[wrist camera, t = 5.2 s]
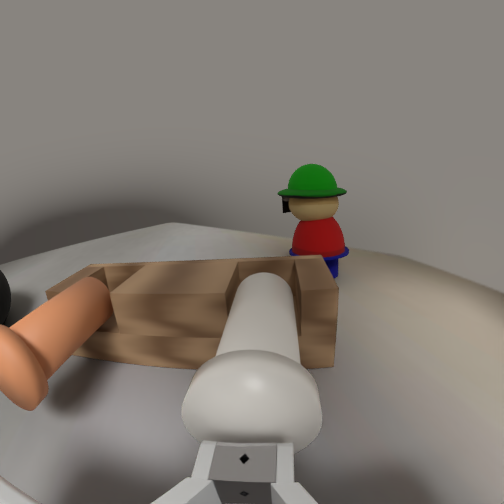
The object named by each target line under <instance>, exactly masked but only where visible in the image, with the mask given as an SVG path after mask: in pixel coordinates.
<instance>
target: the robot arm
mask: <svg viewBox="0 0 504 504" xmlns="http://www.w3.org/2000/svg"><path fill="white" fill-rule="evenodd" d="M222 503H237V504H318V503H317V502H316V501H315V500H314V498H313V497H312V496H311V495H310V494H309V493H308V492H307V491H306V490H305V489H304V487H303V486H302V485H301V484H300V483H299V482H294V447H293V443H247V444H243V443H227V442H215V441H202V442H201V444H200V447H199V450H198V454H197V457H196V461H195V465H194V468H193V472H192V475H191V477H186V478H185V479H183V480H182V481H181V482H180V483H178V484H177V485H176V486H174V487H173V488H172V489H170V490H169V491H167V492H166V493H165V494H163V495H162V496H161V497H159V498H158V499H156V500H155V501H153V502H152V503H151V504H222ZM0 504H42V503H40V502H38V501H37V500H35V499H34V498H32V497H30V496H29V495H27V494H26V493H24V492H23V491H21V490H20V489H18V488H17V487H15V486H14V485H12V484H11V483H10V482H8V481H7V480H5V479H4V478H3V477H1V476H0ZM501 504H504V502H502V503H501Z"/></svg>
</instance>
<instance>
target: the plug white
mask: <svg viewBox="0 0 504 504" xmlns="http://www.w3.org/2000/svg"><path fill="white" fill-rule="evenodd" d="M181 414H182V420H183V423H184V425H185V427H186V429H187V430H188V432H189V433H190V434H191V435H192V437H193V438H194V439H196V440H197V441H198V442H199V443H200V444H201V442H202V441H215V442H227V443H243V444H247V443H293V447H294V454H295V453H297V452H299V451H301V450H302V449H304V448H306V447H307V446H308V445H309V444H311V443H312V442H313V440H314V439H315V438H316V437H317V435H318V434H319V432H320V430H321V426H322V411H321V404H320V397H319V391H318V386H317V384H316V381H315V380H314V378H313V376H312V375H311V374H310V373H309V372H308V370H307V369H305V368H304V367H303V366H302V365H301V363H300V353H299V344H298V335H297V327H296V318H295V310H294V302H293V294H292V291H291V288H290V286H289V285H288V284H287V282H286V281H285V280H284V279H282V278H281V277H279V276H277V275H275V274H272V273H265V272H262V273H256V274H253V275H250V276H249V277H247V278H246V279H244V280H243V281H242V282H241V284H240V285H239V287H238V289H237V291H236V294H235V297H234V301H233V304H232V307H231V310H230V313H229V316H228V319H227V322H226V325H225V328H224V331H223V334H222V338H221V341H220V344H219V347H218V350H217V353H216V356H215V357H213V358H212V359H210V360H208V361H207V362H205V363H204V364H203V365H202V366H201V367H200V368H199V369H198V370H197V371H196V373H195V374H194V376H193V379H192V381H191V383H190V386H189V389H188V391H187V394H186V396H185V399H184V401H183V404H182V409H181Z"/></svg>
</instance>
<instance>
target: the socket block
mask: <svg viewBox="0 0 504 504" xmlns="http://www.w3.org/2000/svg"><path fill="white" fill-rule="evenodd" d="M262 272H265V273H272V274H275V275H277V276H279V277H281V278H282V279H284V280H285V281H286V282H287V284H288V285H289V286H290V288H291V291H292V294H293V302H294V310H295V318H296V327H297V335H298V344H299V353H300V363H301V365H302V366H303V367H304V368H305V369H312V368H326V367H333V365H334V355H335V343H336V330H337V314H338V294H339V288H338V286H337V284H336V282H335V280H334V278H333V276H332V274H331V272H330V270H329V268H328V267H327V265H326V263H325V261H324V259H323V257H322V255H307V256H285V257H263V258H240V259H216V260H192V261H166V262H140V263H113V264H90V265H89V266H87V267H85V268H83V269H82V270H80V271H78V272H77V273H75V274H73V275H71V276H70V277H68V278H66V279H65V280H63V281H61V282H60V283H58V284H56V285H55V286H53V287H51V288H50V289H48V290H47V291H46V295H47V299H48V300H50V299H51V298H53V297H55V296H56V295H58V294H59V293H61V292H62V291H64V290H65V289H67V288H68V287H70V286H71V285H73V284H75V283H76V282H78V281H79V280H81V279H82V278H84V277H94V278H96V279H98V280H100V281H101V282H102V283H104V284H105V285H106V287H107V288H108V289H109V291H110V298H111V302H112V306H113V310H114V311H113V314H112V315H111V317H110V318H109V319H108V320H107V321H106V322H105V323H104V324H103V325H101V326H100V327H99V328H98V329H97V330H96V331H95V332H94V333H93V334H92V335H91V336H90V337H89V338H88V339H87V340H86V341H85V342H84V343H83V344H82V345H81V346H80V347H79V348H78V349H77V350H76V351H75V352H74V353H73V354H72V355H76V356H82V357H87V358H93V359H100V360H106V361H113V362H121V363H128V364H137V365H146V366H157V367H168V368H182V369H199V368H200V367H201V366H202V365H203V364H204V363H205V362H207V361H208V360H210V359H212V358H213V357H215V356H216V353H217V350H218V347H219V344H220V341H221V338H222V334H223V331H224V328H225V325H226V322H227V319H228V316H229V313H230V310H231V307H232V304H233V301H234V297H235V294H236V291H237V289H238V287H239V285H240V284H241V282H242V281H243V280H244V279H246V278H247V277H249V276H250V275H253V274H256V273H262Z"/></svg>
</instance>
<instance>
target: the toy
mask: <svg viewBox="0 0 504 504" xmlns="http://www.w3.org/2000/svg"><path fill="white" fill-rule="evenodd" d="M346 192H347V191H346V190H344V189H342V188H337V184H336V181H335V179H334V177H333V175H332V174H331V173H330V172H329V171H328V170H327V169H326V168H324V167H323V166H320V165H317V164H307V165H304V166H301V167H300V168H298V169H297V170H296V171H295V172H294V173H293V174H292V176H291V178H290V180H289V184H288V189H285V190H282V191H279V192H278V195H279V196H282V203H283V213H286V212H292V214H293V215H294V216H295V217H296V218H298V219H299V220H301V221H300V222H299V224H298V225H297V228H296V230H295V233H294V237H293V242H292V248H291V249H290V251H289V253H290V255H291V256H307V255H322V257H323V259H324V261H325V263H326V265H327V267H328V268H329V270H330V272H331V274H332V276H333V278H336V277H337V276H338V259H339V258H342V257H345V256H347V255H348V254H349V249H348V248H347V247H345V243H344V237H343V234H342V231H341V228H340V226H339V224H338V223H337V221H336V220H335V219H334V218H333V217H332V216H333V215H334V214H335V213H336V211H337V209H338V205H339V204H338V197H337V196H341V195H344V194H346Z"/></svg>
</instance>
